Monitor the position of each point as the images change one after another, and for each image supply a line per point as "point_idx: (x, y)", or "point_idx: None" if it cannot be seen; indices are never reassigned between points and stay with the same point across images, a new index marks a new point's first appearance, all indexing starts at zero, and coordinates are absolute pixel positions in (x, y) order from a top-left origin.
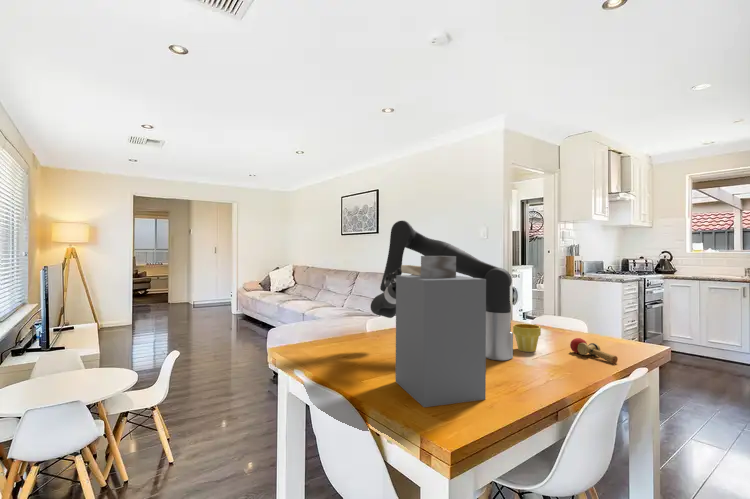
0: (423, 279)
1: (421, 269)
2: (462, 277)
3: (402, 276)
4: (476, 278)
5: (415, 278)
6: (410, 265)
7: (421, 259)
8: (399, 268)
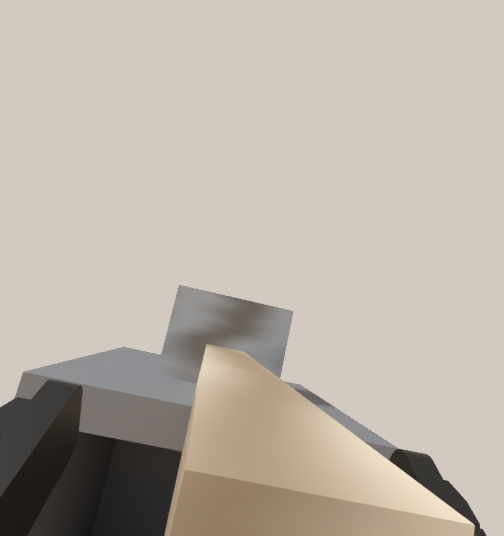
0: (297, 387)
1: (280, 367)
2: (136, 359)
3: (357, 422)
4: (128, 351)
5: (314, 396)
6: (249, 397)
7: (289, 325)
8: (413, 456)
